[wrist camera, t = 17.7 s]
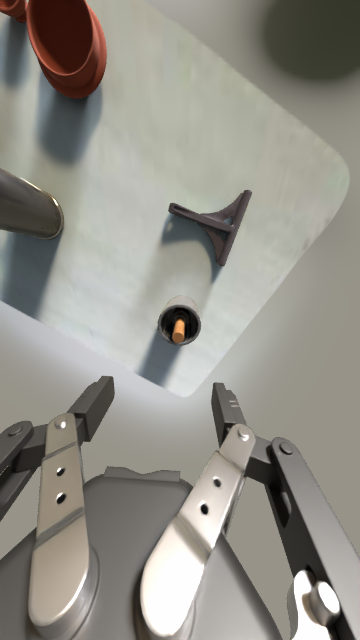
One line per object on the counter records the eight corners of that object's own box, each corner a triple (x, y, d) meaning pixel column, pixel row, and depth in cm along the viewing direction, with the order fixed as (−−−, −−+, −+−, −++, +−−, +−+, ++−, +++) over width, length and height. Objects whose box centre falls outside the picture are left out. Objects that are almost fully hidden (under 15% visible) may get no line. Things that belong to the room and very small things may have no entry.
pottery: (91, 125, 31) (77, 103, 27) (-10, 35, 28) (-45, -6, 24) (124, 53, 28) (113, 15, 24) (14, -56, 25) (-21, -121, 21)
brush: (174, 318, 41) (166, 347, 26) (174, 304, 40) (166, 326, 25) (188, 319, 41) (189, 349, 26) (189, 305, 40) (190, 327, 25)
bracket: (180, 169, 33) (179, 161, 30) (250, 195, 33) (255, 189, 31) (160, 245, 37) (158, 243, 34) (223, 266, 38) (225, 266, 35)
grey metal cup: (165, 325, 42) (157, 344, 32) (165, 294, 40) (157, 303, 30) (196, 327, 42) (199, 346, 32) (198, 296, 40) (202, 305, 29)
